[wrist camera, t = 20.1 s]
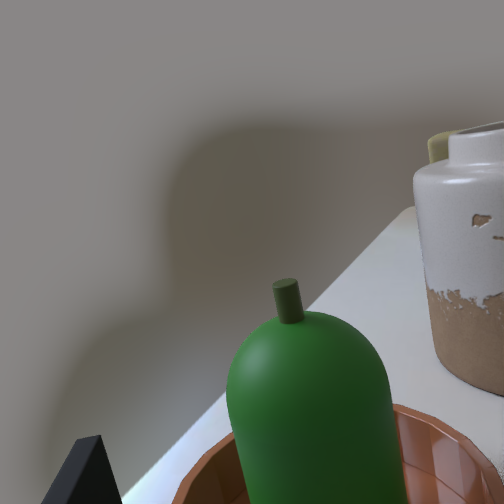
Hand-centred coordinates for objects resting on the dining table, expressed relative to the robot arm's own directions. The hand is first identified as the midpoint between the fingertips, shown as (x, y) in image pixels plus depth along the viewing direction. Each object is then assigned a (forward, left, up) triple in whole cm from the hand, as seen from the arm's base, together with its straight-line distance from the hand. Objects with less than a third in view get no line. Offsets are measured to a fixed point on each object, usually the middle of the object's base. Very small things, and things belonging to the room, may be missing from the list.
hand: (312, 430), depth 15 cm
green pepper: (-1, +4, -9) cm, 10 cm away
